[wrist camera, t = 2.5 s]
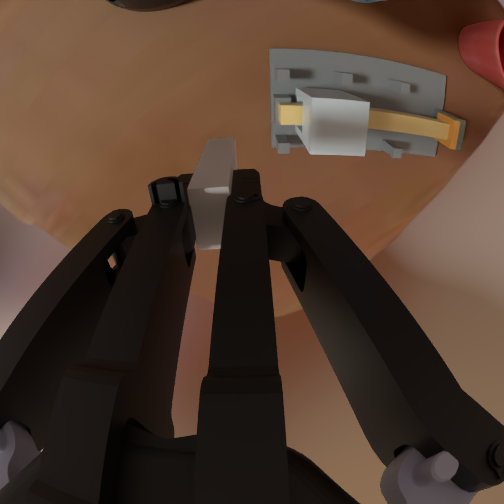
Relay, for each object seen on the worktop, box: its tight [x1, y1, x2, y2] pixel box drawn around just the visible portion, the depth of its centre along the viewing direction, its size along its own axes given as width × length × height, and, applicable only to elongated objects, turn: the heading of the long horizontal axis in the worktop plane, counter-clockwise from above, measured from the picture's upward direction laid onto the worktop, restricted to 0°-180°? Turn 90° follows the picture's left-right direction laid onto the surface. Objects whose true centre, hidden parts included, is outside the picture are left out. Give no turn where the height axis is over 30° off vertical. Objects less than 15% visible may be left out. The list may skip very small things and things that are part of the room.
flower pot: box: [458, 19, 504, 89], centre depth 17 cm, size 11×11×10 cm
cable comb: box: [269, 49, 466, 158], centre depth 26 cm, size 12×23×7 cm, turn 92°
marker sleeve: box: [295, 88, 370, 156], centre depth 24 cm, size 5×5×8 cm
